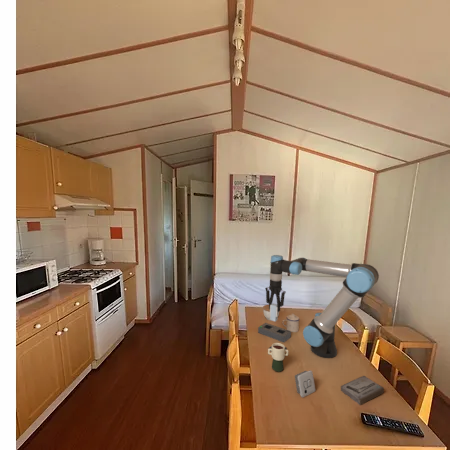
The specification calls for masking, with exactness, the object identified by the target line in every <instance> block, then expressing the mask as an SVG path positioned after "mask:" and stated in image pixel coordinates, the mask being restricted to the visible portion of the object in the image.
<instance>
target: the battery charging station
mask: <svg viewBox="0 0 450 450" xmlns="http://www.w3.org/2000/svg"><path fill="white" fill-rule="evenodd" d="M257 333H258V334H261V335H263V336H265V337H268V338H270V339H274V340H277V341H279V342H280V343H281V342H282V343H285V342H287V341H288V340H289V339H290V338H291V337H292V332H291V331H289V330H287V329H286V328H282V327H279V326H278V325H275V324H271V323H268V322H264V323H263V324H261V325H260V326H258V327H257Z"/></svg>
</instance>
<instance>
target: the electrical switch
mask: <svg viewBox="0 0 450 450" xmlns="http://www.w3.org/2000/svg"><path fill="white" fill-rule="evenodd" d="M313 373H314V372H313V371H312V370H308V371H307V370H303V371H302V372H299V373H296V374H294V380H295V386H296V392H297V393H298V394H299V395H300V397H301V398H305V397H307V396H309V395H311V394H312V393H315V392H316V384H315V379H314V374H313Z"/></svg>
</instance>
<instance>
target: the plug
mask: <svg viewBox="0 0 450 450" xmlns="http://www.w3.org/2000/svg"><path fill="white" fill-rule="evenodd" d="M276 307H277V303H273V302H272V305H271V316H270V320H269V321H272V322H277V321H278V320H279V316H278V317H276Z"/></svg>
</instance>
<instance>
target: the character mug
mask: <svg viewBox="0 0 450 450" xmlns="http://www.w3.org/2000/svg"><path fill="white" fill-rule="evenodd" d="M271 346H272V349H269V348H267V354H268V355H270V356H271V359H272V363H271V368H272V370H273V371H275V372H278V373H279V372H282V371H283V370H284V359H285V356H286V357H288V355H289V350H288V349H286V350H285V347H286V346H285V344H283V343H281V342H274V343H272V344H271ZM271 351H272V352H271Z"/></svg>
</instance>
